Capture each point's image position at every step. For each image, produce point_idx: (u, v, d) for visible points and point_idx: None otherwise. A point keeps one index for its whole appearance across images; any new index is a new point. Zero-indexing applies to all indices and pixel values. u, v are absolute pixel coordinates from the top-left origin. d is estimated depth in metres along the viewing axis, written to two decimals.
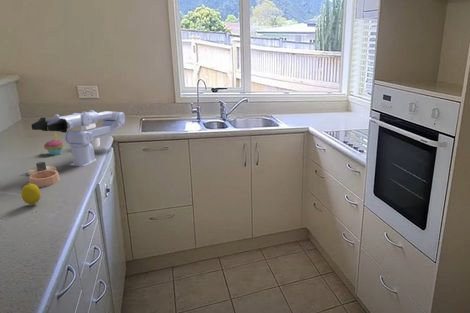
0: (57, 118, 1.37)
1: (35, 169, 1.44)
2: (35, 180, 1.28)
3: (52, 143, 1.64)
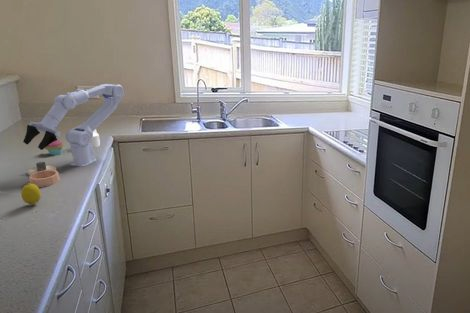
0: (42, 126, 1.35)
1: (35, 169, 1.44)
2: (35, 180, 1.28)
3: (52, 143, 1.64)
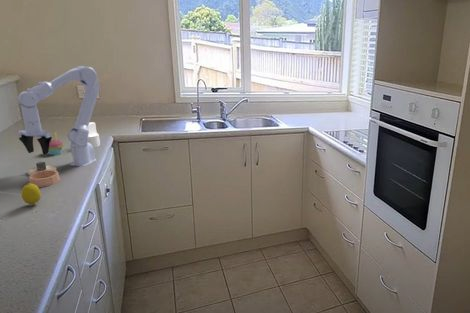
0: None
1: (35, 169, 1.44)
2: (35, 180, 1.28)
3: (52, 143, 1.64)
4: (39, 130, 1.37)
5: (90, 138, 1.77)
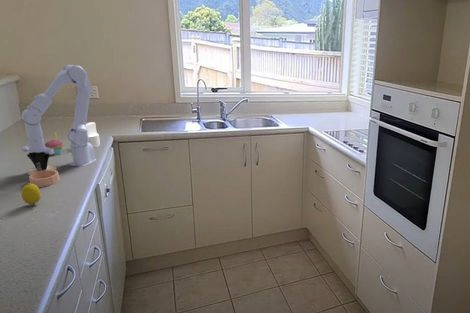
0: (34, 151, 1.38)
1: (35, 169, 1.44)
2: (35, 180, 1.28)
3: (52, 143, 1.64)
4: (42, 147, 1.40)
5: (90, 138, 1.77)
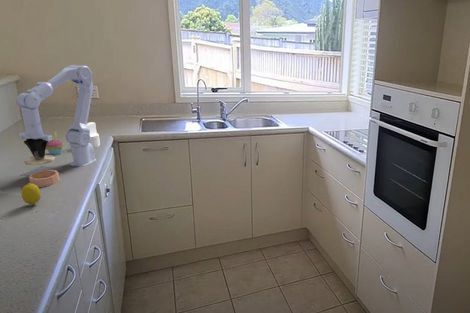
0: (31, 138, 1.32)
1: (33, 158, 1.38)
2: (35, 180, 1.28)
3: (52, 143, 1.64)
4: (40, 133, 1.33)
5: (90, 138, 1.77)
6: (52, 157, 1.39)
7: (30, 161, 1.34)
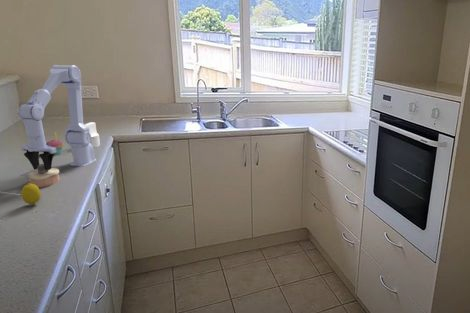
0: (34, 150, 1.26)
1: (36, 172, 1.33)
2: (35, 180, 1.28)
3: (52, 143, 1.64)
4: (43, 145, 1.28)
5: None
6: (56, 171, 1.34)
7: (34, 175, 1.29)
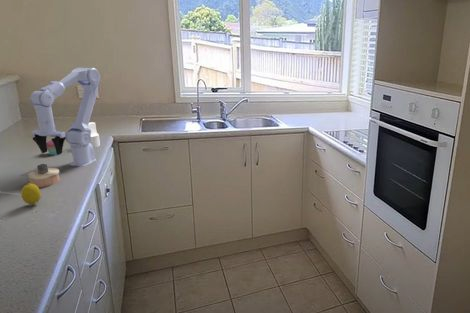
0: (44, 135, 1.34)
1: (36, 172, 1.33)
2: (35, 180, 1.28)
3: (52, 143, 1.64)
4: (53, 130, 1.35)
5: None
6: (56, 171, 1.34)
7: (34, 175, 1.29)
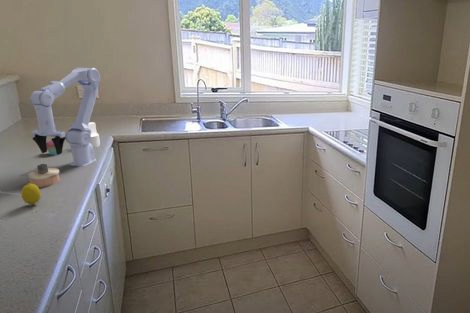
0: (44, 135, 1.34)
1: (36, 172, 1.33)
2: (35, 180, 1.28)
3: (52, 143, 1.64)
4: (53, 130, 1.35)
5: None
6: (56, 171, 1.34)
7: (34, 175, 1.29)
